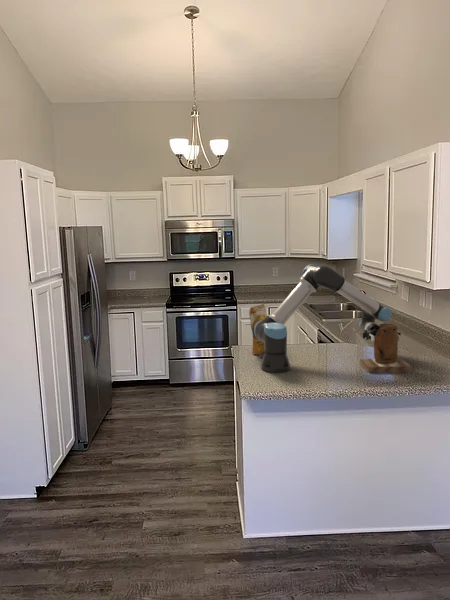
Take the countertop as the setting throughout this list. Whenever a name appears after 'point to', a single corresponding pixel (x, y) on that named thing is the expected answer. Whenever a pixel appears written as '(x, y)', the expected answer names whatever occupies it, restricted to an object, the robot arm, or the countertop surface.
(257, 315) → the pancake mix bag
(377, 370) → the plinth
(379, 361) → the catalogued terracotta fragment
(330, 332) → the countertop surface
